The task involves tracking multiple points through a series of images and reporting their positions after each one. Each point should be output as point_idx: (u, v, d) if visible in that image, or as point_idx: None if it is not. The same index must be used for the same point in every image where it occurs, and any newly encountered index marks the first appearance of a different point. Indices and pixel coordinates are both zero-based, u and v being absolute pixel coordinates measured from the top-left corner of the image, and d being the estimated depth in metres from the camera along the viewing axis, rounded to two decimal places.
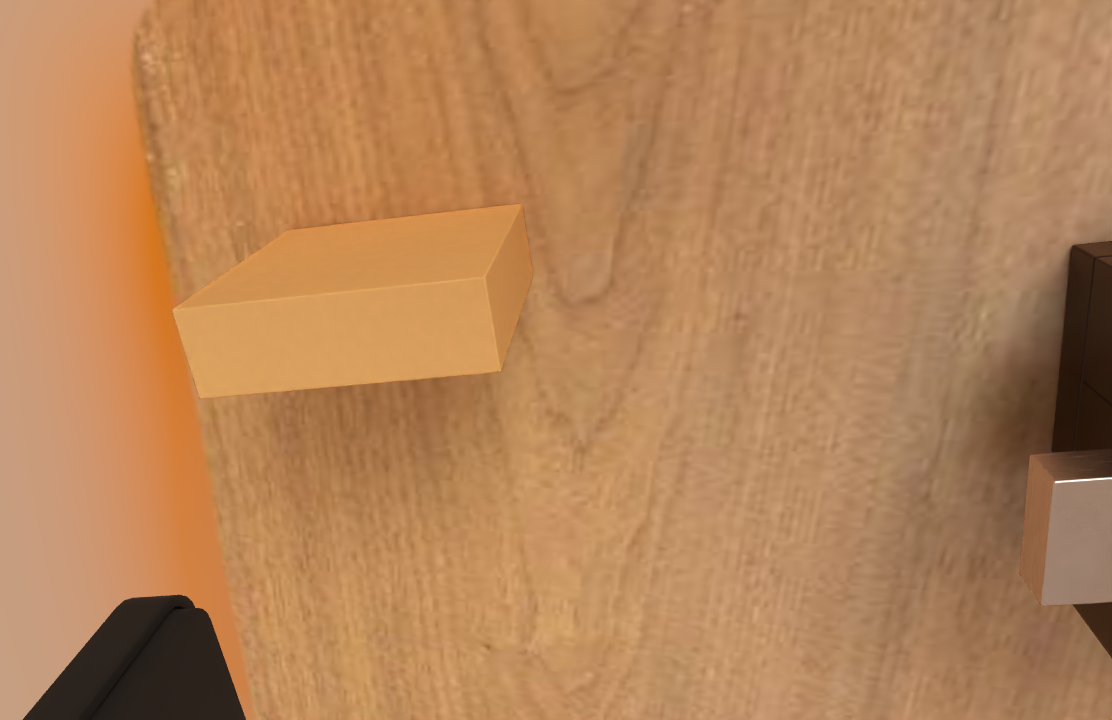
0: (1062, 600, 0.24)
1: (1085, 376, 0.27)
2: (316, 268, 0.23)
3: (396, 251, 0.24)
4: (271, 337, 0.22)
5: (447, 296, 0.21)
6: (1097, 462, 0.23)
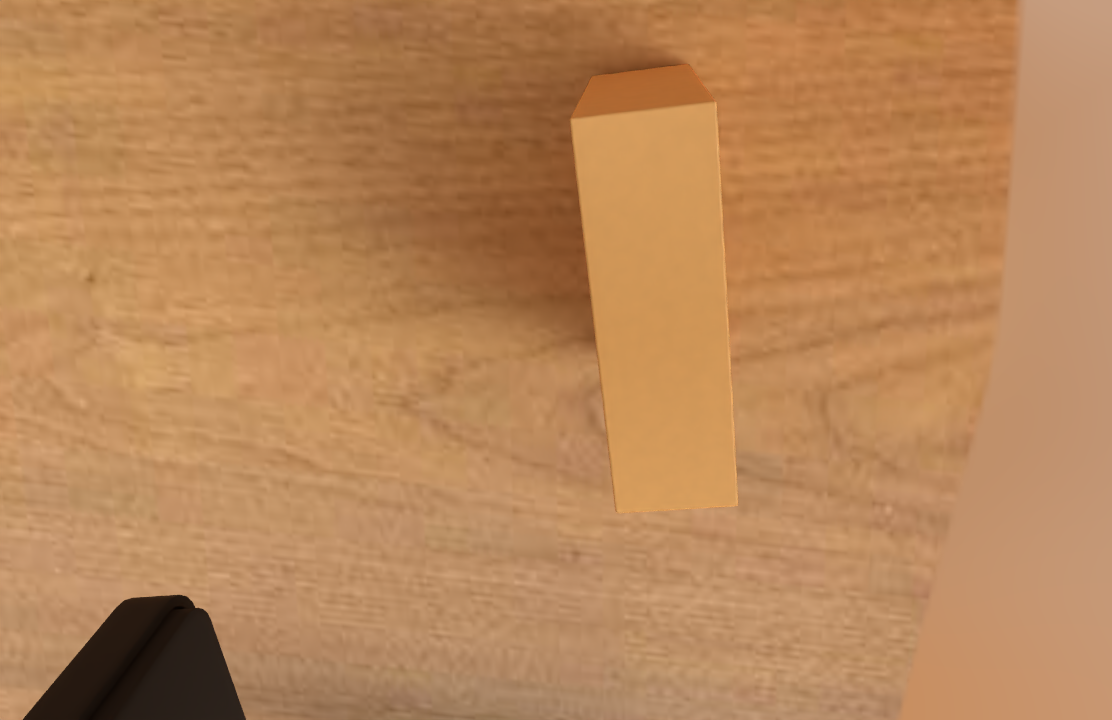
0: None
1: None
2: None
3: None
4: (667, 244, 0.15)
5: (717, 466, 0.17)
6: None
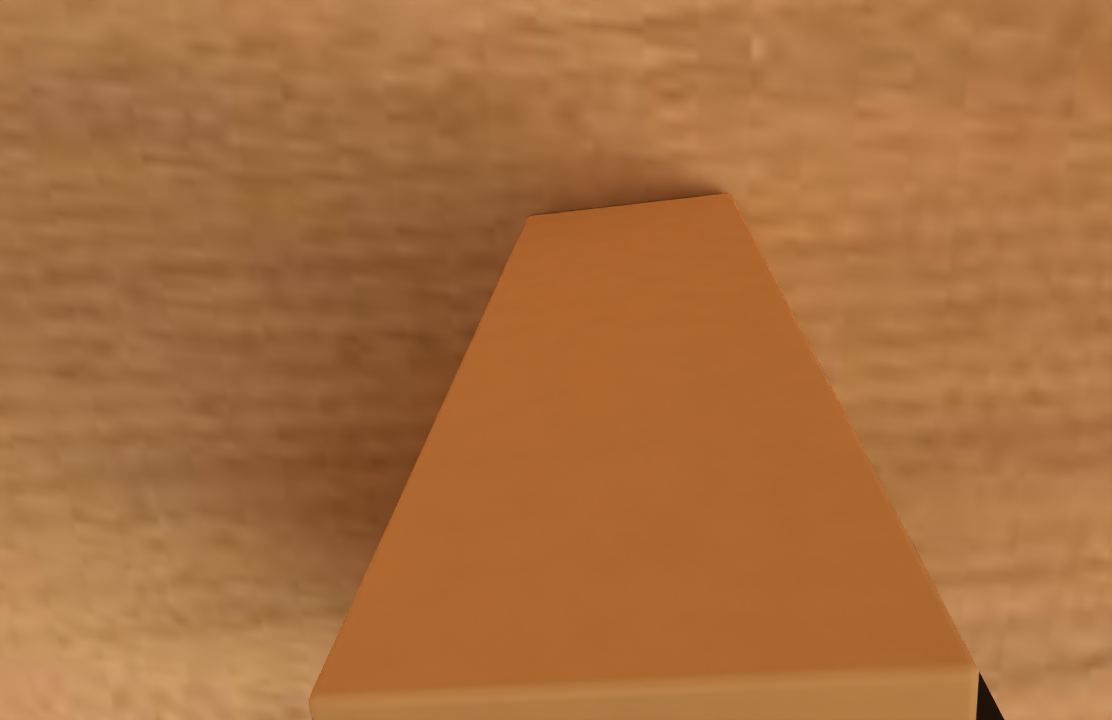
0: None
1: None
2: None
3: None
4: None
5: None
6: None
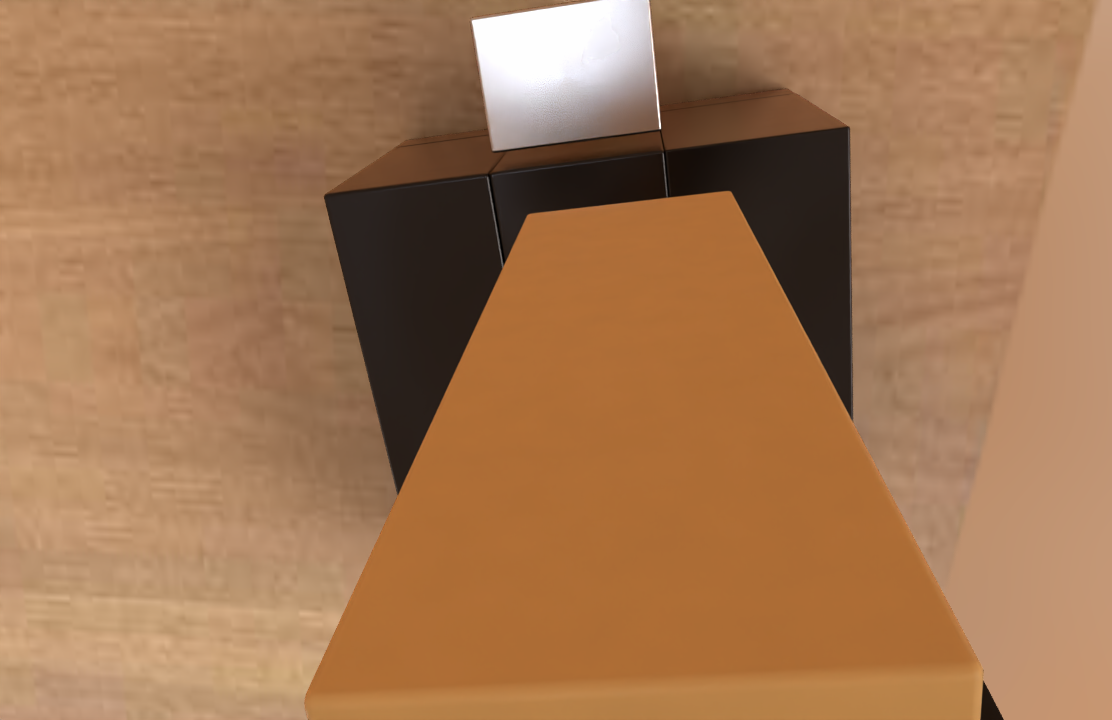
0: (481, 42, 0.19)
1: (664, 112, 0.25)
2: None
3: None
4: None
5: None
6: None
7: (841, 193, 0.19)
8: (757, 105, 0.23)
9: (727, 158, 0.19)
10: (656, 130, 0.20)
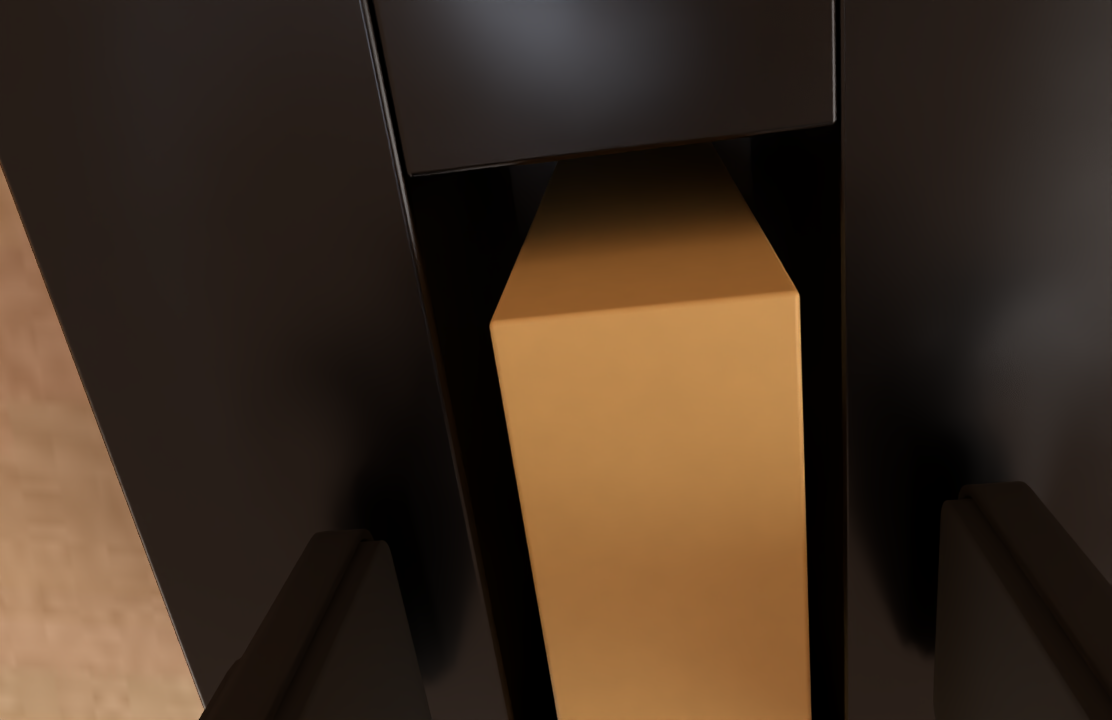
0: None
1: None
2: None
3: None
4: (695, 552, 0.08)
5: None
6: None
7: None
8: None
9: None
10: None
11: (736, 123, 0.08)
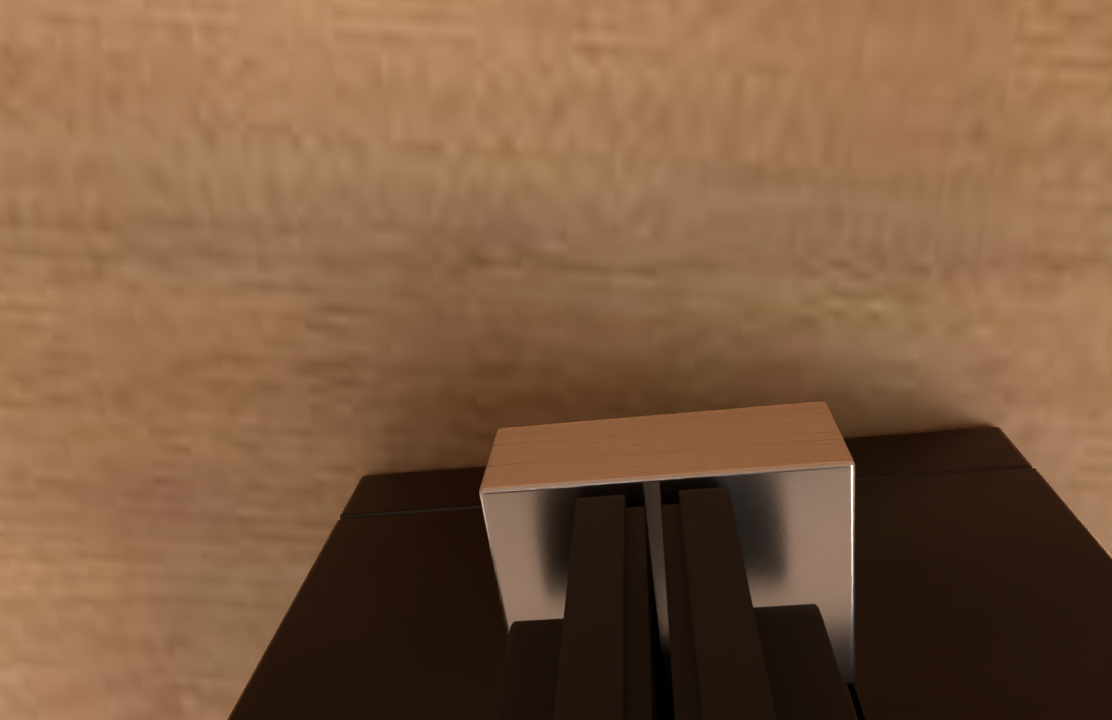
0: (502, 531, 0.10)
1: None
2: None
3: None
4: None
5: None
6: None
7: None
8: (984, 521, 0.13)
9: None
10: (844, 683, 0.10)
11: None
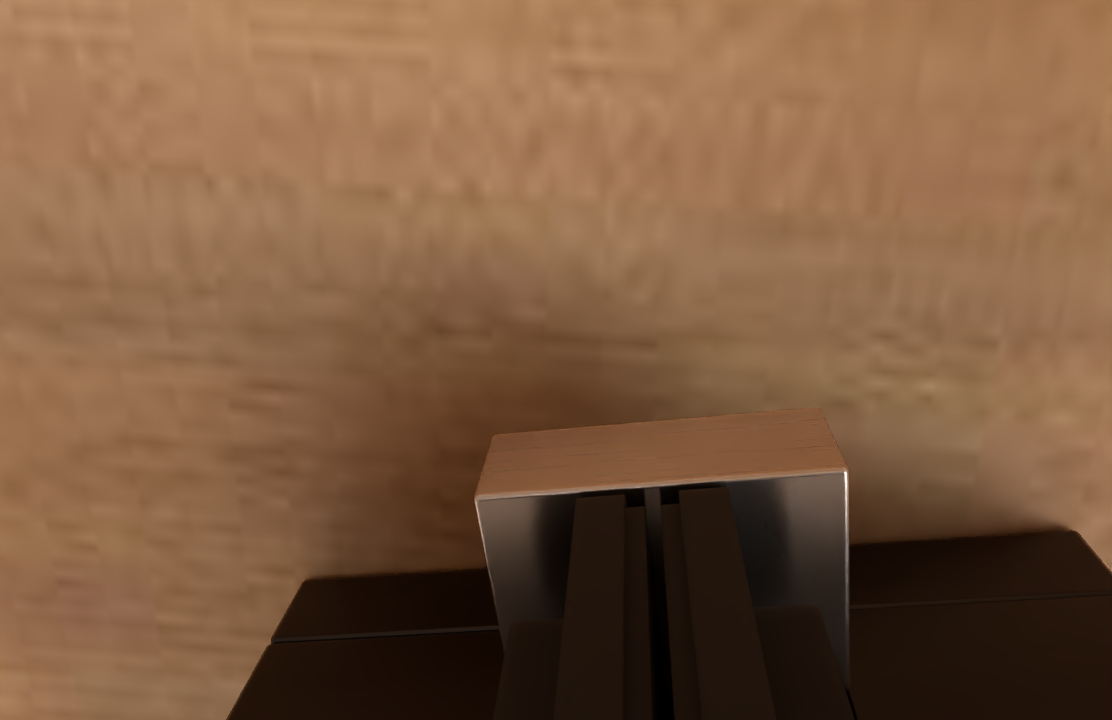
0: (497, 537, 0.10)
1: None
2: None
3: None
4: None
5: None
6: None
7: None
8: (1078, 676, 0.10)
9: None
10: None
11: None
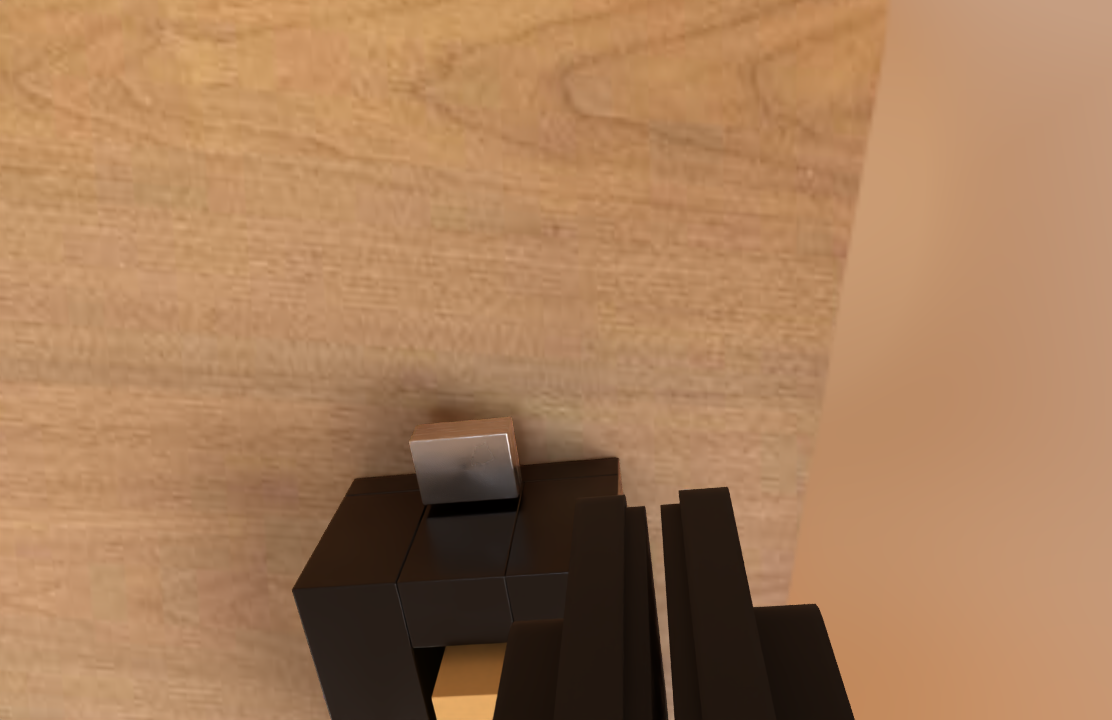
0: (415, 453, 0.34)
1: (528, 483, 0.36)
2: None
3: None
4: None
5: None
6: (514, 455, 0.35)
7: None
8: (585, 494, 0.35)
9: (543, 581, 0.31)
10: (515, 497, 0.35)
11: (492, 641, 0.32)
